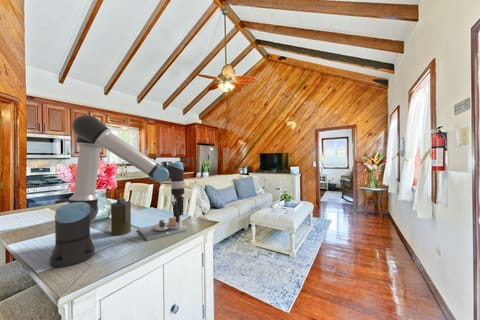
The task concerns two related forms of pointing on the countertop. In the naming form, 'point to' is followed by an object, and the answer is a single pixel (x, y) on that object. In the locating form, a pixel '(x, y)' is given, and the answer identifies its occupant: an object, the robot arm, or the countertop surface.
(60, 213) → the robot arm
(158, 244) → the countertop surface
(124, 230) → the canister
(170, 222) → the dial
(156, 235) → the panel
